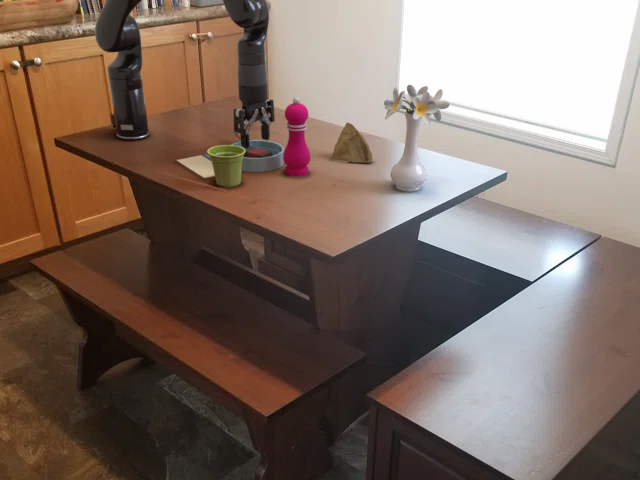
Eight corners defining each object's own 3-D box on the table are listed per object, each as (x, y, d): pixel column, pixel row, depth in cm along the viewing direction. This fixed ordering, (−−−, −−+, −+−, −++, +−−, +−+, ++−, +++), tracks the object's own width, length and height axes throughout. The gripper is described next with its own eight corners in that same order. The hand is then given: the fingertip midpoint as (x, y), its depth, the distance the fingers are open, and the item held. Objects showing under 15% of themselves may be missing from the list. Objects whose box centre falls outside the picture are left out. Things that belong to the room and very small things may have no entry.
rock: (382, 152, 193) (358, 139, 198) (373, 132, 185) (348, 119, 190) (357, 180, 192) (333, 166, 197) (347, 162, 184) (322, 147, 189)
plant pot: (203, 181, 177) (200, 148, 172) (235, 174, 182) (234, 142, 177) (220, 193, 171) (218, 159, 166) (253, 186, 175) (252, 152, 170)
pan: (217, 161, 190) (216, 146, 187) (265, 151, 198) (264, 136, 195) (246, 178, 180) (245, 162, 177) (295, 166, 188) (295, 151, 185)
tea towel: (176, 162, 188) (176, 159, 188) (205, 156, 193) (205, 154, 192) (204, 179, 178) (204, 177, 177) (234, 173, 182) (234, 170, 182)
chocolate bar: (239, 161, 189) (238, 149, 187) (249, 157, 192) (249, 145, 190) (262, 167, 185) (262, 155, 183) (272, 163, 188) (272, 151, 187)
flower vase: (445, 181, 182) (457, 83, 168) (412, 203, 169) (422, 99, 155) (403, 171, 188) (411, 75, 174) (367, 191, 175) (373, 89, 161)
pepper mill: (314, 171, 185) (315, 95, 174) (304, 180, 179) (304, 102, 168) (289, 167, 187) (288, 92, 176) (279, 176, 181) (277, 98, 170)
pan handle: (251, 146, 193) (251, 139, 192) (244, 147, 193) (244, 140, 192) (240, 134, 202) (239, 127, 201) (233, 134, 202) (233, 128, 201)
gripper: (258, 73, 183) (261, 134, 192) (223, 84, 173) (227, 147, 182) (281, 78, 180) (282, 139, 189) (246, 88, 170) (249, 153, 179)
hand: (255, 143), depth 185 cm, fingers open, 8 cm apart
